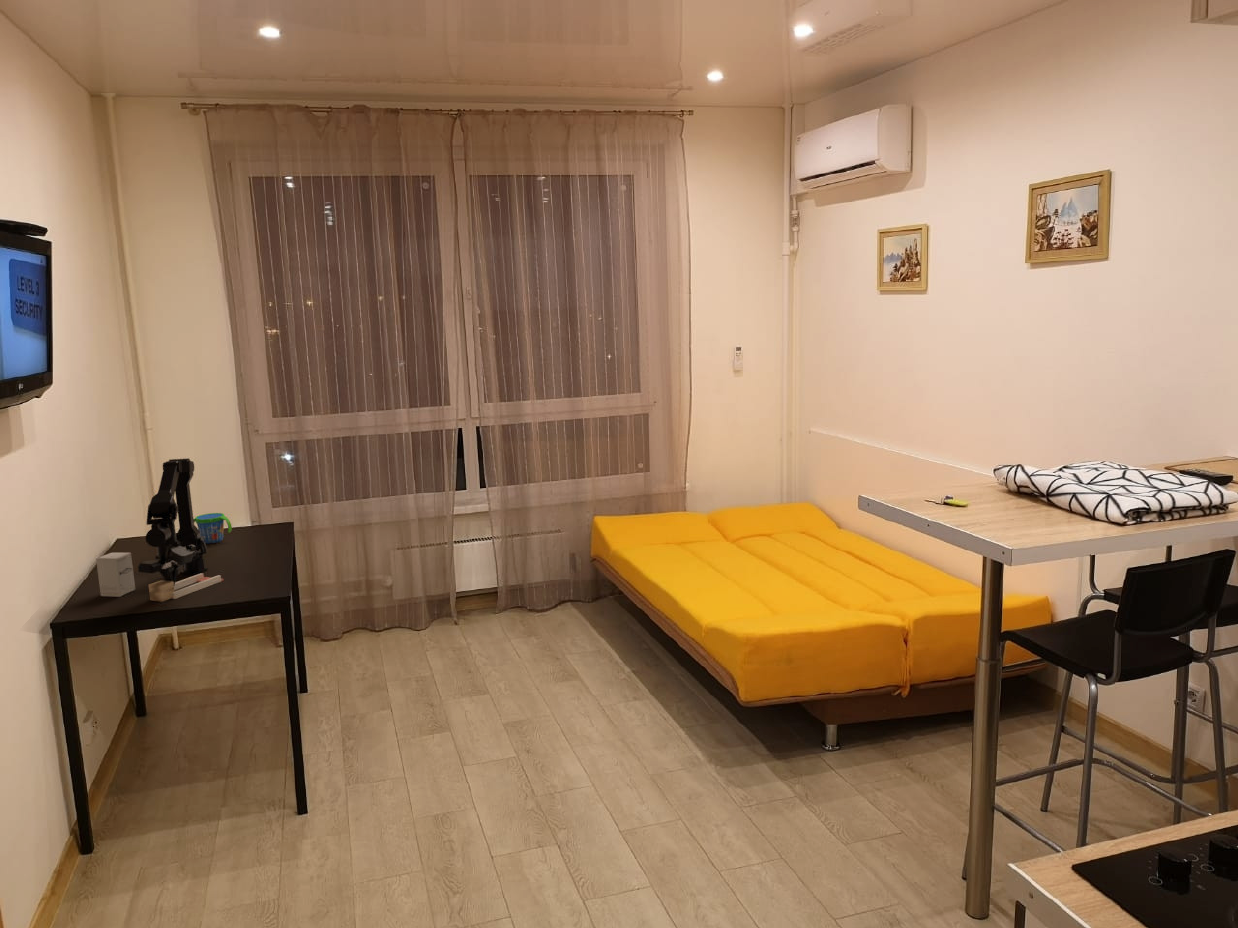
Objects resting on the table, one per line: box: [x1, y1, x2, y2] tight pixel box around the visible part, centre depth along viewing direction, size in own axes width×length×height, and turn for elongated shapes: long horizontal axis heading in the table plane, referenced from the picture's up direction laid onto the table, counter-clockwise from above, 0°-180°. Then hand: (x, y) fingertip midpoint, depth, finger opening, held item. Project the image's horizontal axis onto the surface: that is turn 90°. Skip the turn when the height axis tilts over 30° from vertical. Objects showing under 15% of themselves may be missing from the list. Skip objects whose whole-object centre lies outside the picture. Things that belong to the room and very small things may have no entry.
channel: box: [172, 572, 225, 600], centre depth 306 cm, size 9×20×2 cm, turn 158°
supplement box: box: [95, 552, 136, 598], centre depth 303 cm, size 7×7×13 cm
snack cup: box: [193, 512, 233, 544], centre depth 365 cm, size 16×10×10 cm
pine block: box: [148, 579, 176, 603], centre depth 296 cm, size 5×5×5 cm
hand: (172, 586), depth 300 cm, fingers closed
